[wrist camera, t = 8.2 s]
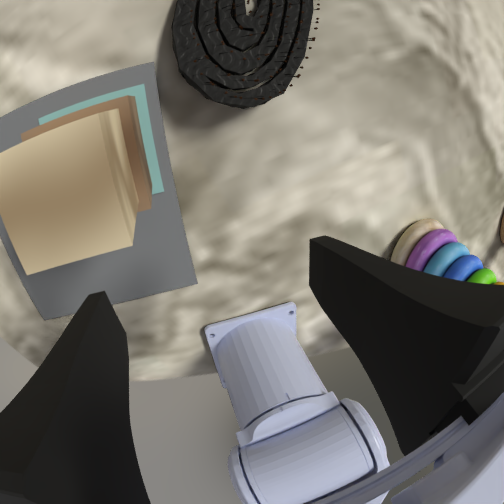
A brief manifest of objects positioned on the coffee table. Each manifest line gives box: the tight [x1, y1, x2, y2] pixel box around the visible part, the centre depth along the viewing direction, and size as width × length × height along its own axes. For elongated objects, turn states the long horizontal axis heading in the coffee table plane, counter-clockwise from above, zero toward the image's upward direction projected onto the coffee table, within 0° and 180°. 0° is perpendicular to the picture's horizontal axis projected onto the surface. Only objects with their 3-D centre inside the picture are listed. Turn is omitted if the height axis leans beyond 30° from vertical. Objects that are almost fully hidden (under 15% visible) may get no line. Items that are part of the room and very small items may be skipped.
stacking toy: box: [391, 219, 504, 285], centre depth 20 cm, size 8×8×19 cm
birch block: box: [0, 109, 139, 275], centre depth 9 cm, size 4×4×4 cm
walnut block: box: [21, 95, 152, 212], centre depth 13 cm, size 5×5×4 cm
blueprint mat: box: [0, 62, 198, 320], centre depth 16 cm, size 15×13×1 cm
